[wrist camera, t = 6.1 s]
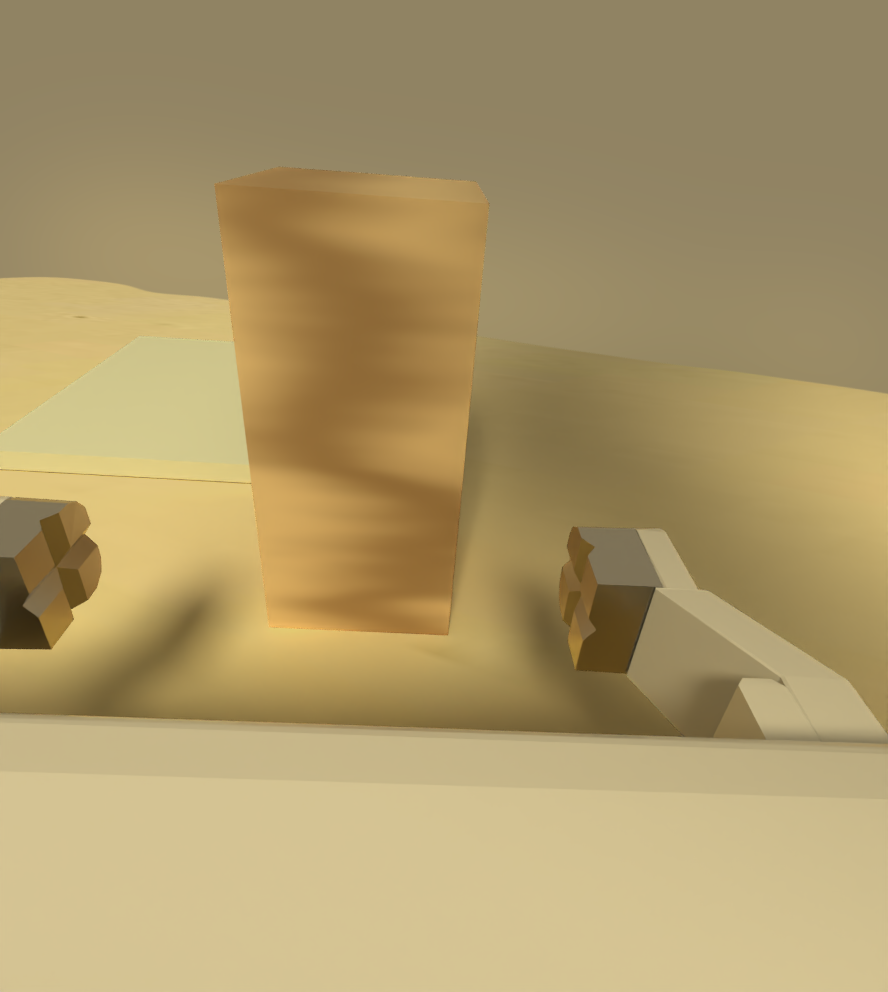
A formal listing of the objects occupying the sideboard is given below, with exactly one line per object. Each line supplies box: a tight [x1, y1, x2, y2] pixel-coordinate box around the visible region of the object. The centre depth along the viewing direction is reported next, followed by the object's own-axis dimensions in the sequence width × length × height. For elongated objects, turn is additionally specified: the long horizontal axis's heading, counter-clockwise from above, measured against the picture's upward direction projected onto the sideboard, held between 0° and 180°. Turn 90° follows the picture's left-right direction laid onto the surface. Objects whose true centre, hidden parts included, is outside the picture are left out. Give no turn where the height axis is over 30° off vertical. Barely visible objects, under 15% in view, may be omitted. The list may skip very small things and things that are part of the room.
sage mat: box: [0, 336, 251, 483], centre depth 28 cm, size 14×14×1 cm
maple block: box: [215, 167, 489, 635], centre depth 16 cm, size 5×5×11 cm
